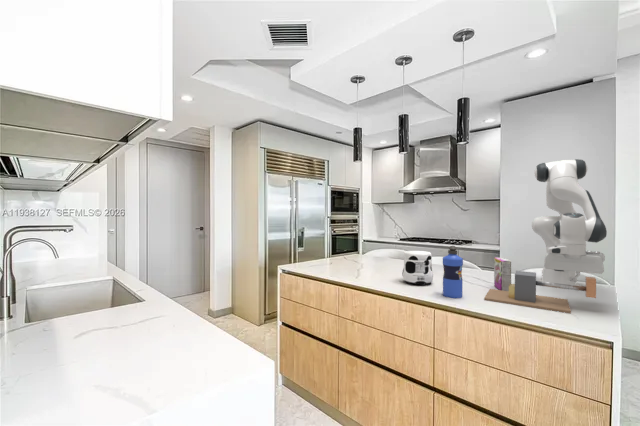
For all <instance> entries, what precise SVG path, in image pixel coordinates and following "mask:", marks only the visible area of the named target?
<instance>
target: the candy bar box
mask: <svg viewBox="0 0 640 426" xmlns="http://www.w3.org/2000/svg"><path fill="white" fill-rule="evenodd" d="M493 268H494V269H493V277H494V278H493V279H494V281H493V283H494V284H493V285H494V287H495V288H496V289H497V290H502V291H509V284H512V261H511V260H509V259H508V258H505V257H496V256H495V257H494V258H493Z"/></svg>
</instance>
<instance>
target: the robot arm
mask: <svg viewBox="0 0 640 426" xmlns="http://www.w3.org/2000/svg"><path fill="white" fill-rule="evenodd" d="M587 172H588V165H587V163H586V161H585V160H583V159H579V158H578V159H576V158H575V159H561V160H554V161H549V162H541V163H539V164H537V165H536V167H535V170H534V177H535V178H536V181H537V182H541V183H546V188H545V189H546V191H545V192H546V193H545V195H546V206H547V208H549V209H550V210H552V211H555V212H557V213H558V214H559V216H557V215H556V216H555V215H553V216H551V215H549V216H548V215H543V216H536V217H534V219H533V221H532V222H531V228H532V231H533V232H534V233H535V234H536V235H538V236H539V237H540V238H541V239H542V240H543V241H544V244H545V248H546V253H545V257H544V262H543V268H542V269H541V278H540V279H538V280H537V281H541V282H550V283H559V284H568V285H577V286H581V284H579V283H578V282H577V281H578V278H579V277H580V275H581V273H586V274H587V273H588V274H598V275H602V274H603V273H605V267H604V262H605V259H606V256H605V254H604V253H602V252H601V251H594V250H587V242H588V243H595V244H597V243H599V242H601V241H603V240H604V239H606V237H607V233H608V232H607V227H606V225H605V223H604V220H603V219H602V217H601V216H600V213H599V210H598V209H597V206H596V204H595V202H594V199H593V197H592V195H591V193H590V191H588V190H586V189H584V188H583V186H581V185H580V184H579V180H581V179H583V178H584V177H586V174H587ZM573 204H576V205H578V206H580V207H581V208H582V210H583V212H584V214H583V213H579V212H577V211H576V210H575V208H574V206H573Z"/></svg>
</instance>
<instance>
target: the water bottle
mask: <svg viewBox="0 0 640 426" xmlns="http://www.w3.org/2000/svg"><path fill="white" fill-rule="evenodd" d="M447 253H448V254H447V255H445V256H443V257H442V267H443V275H442V276H443V277H442V296H443V297H445V298H450V299H461V298H463V274H462V273H463V266H464V258H462V257H461V256H459V255H458V249H457V247H456V246H455V245H450V246H449V247H448V251H447Z"/></svg>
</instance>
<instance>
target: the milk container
mask: <svg viewBox="0 0 640 426" xmlns="http://www.w3.org/2000/svg"><path fill="white" fill-rule="evenodd" d="M432 256H433V255H432V253H431V251H426V250H406V251H404V252H403V269H402V271H401V272H402V279H403V281H404V282H406V283H409V284H411V285H428V284H432V282H433V280H434V272H433V268H432V260H433V259H432Z"/></svg>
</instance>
